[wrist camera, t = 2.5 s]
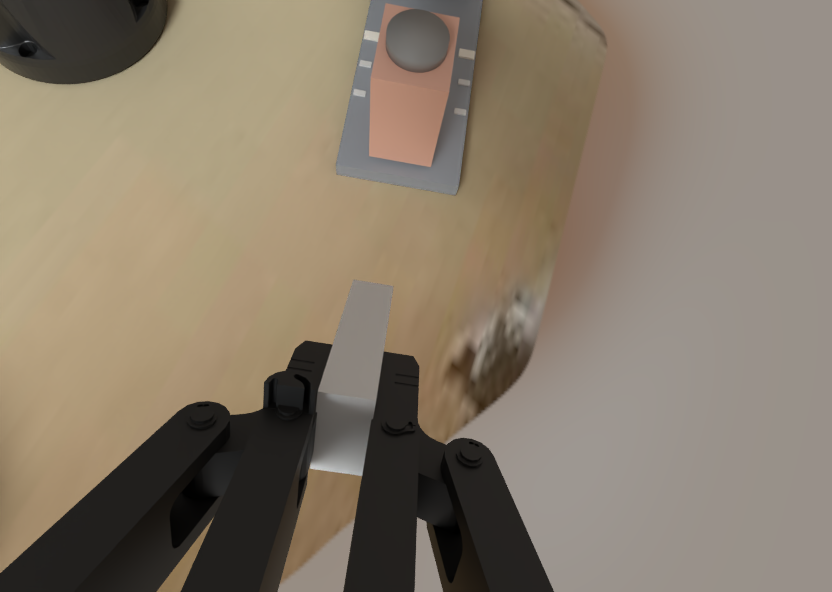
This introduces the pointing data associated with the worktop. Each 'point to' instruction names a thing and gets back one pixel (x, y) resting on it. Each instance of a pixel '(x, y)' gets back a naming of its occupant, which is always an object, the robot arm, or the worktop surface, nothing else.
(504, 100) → the worktop surface
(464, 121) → the slate track
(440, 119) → the terracotta plug block
